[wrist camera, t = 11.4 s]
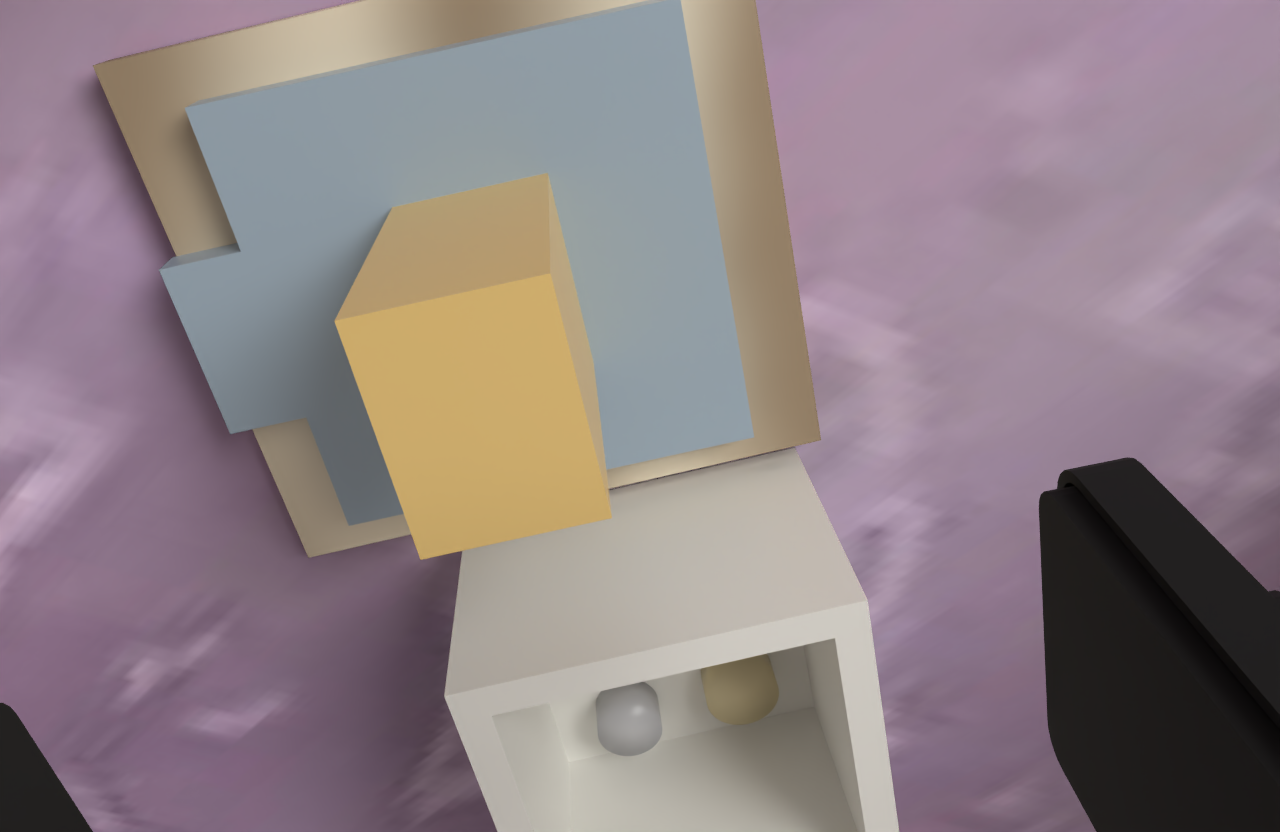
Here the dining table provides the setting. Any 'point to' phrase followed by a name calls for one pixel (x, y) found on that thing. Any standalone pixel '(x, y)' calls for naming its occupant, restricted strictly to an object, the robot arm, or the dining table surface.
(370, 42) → the board
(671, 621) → the tub
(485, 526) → the lid
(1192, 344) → the dining table surface
